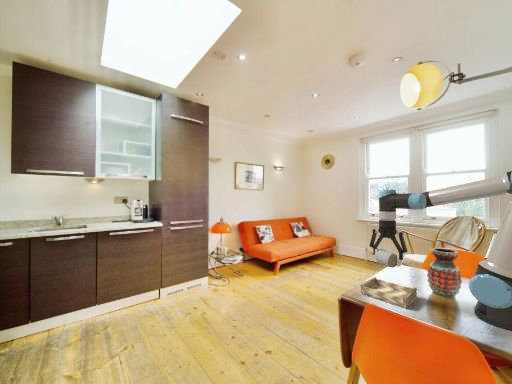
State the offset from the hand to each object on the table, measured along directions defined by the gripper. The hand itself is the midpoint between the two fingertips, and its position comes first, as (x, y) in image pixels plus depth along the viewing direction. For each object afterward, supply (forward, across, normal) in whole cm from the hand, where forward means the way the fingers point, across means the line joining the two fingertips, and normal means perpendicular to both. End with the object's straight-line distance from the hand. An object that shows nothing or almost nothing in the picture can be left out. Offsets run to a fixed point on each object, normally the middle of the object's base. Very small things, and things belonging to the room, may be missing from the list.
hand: (387, 263), depth 112 cm
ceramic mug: (+1, 0, -1) cm, 2 cm away
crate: (+16, 0, 0) cm, 16 cm away
